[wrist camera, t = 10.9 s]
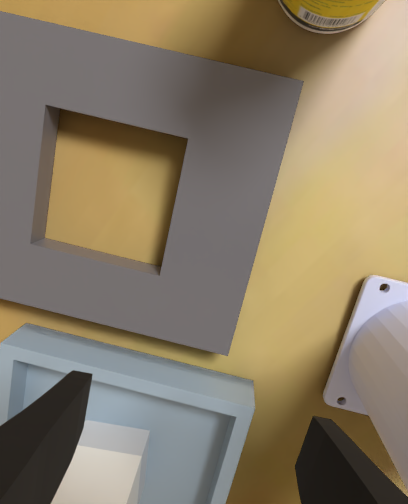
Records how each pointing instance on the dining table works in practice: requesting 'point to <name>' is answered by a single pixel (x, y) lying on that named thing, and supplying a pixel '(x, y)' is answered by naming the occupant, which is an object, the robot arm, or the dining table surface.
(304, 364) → the dining table surface
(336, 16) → the supplement bottle
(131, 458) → the block
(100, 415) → the parts tray
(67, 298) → the block
